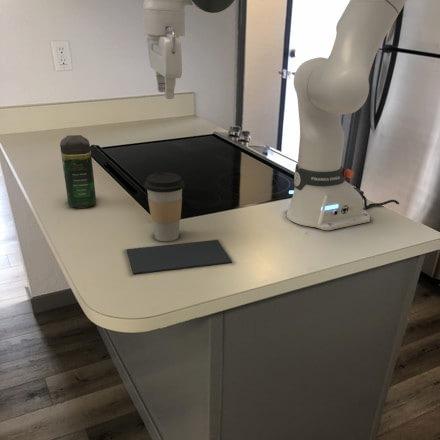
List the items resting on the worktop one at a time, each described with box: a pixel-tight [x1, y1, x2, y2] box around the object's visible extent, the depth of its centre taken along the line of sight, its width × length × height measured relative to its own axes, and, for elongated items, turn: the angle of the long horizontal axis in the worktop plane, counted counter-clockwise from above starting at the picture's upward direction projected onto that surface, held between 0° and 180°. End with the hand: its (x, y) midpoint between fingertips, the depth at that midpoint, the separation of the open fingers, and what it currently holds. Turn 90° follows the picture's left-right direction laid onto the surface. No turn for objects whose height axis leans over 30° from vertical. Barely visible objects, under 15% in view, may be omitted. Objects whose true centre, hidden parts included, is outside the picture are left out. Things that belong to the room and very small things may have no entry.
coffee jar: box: [59, 134, 97, 209], centre depth 135 cm, size 10×8×19 cm
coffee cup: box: [143, 172, 185, 242], centre depth 117 cm, size 9×9×15 cm
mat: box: [126, 239, 233, 275], centre depth 111 cm, size 22×12×1 cm, turn 106°
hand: (165, 95), depth 111 cm, fingers open, 8 cm apart
